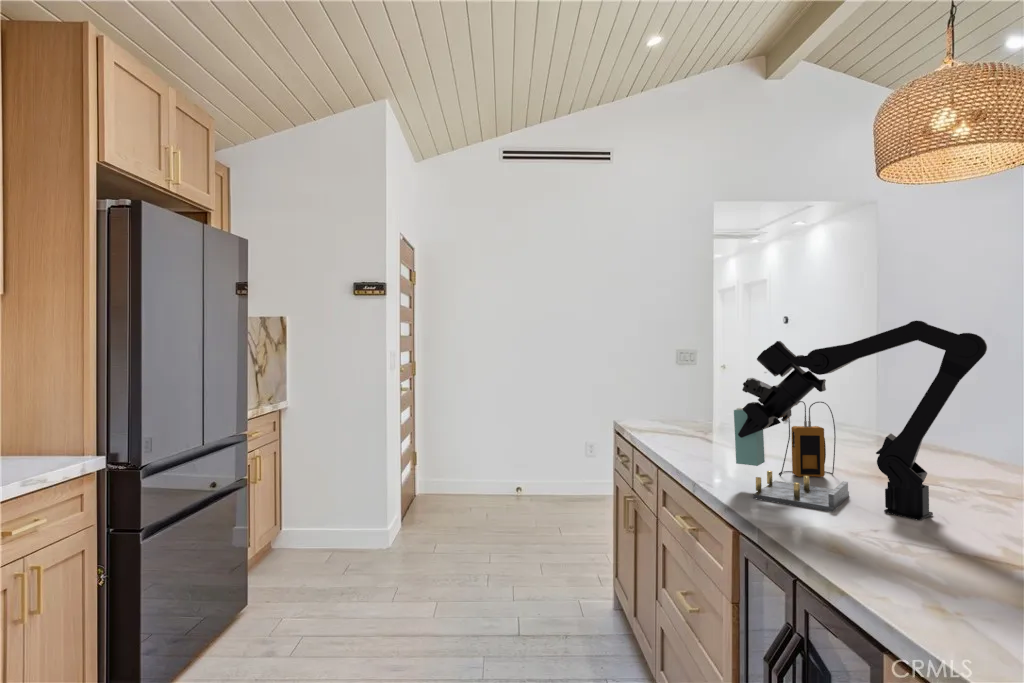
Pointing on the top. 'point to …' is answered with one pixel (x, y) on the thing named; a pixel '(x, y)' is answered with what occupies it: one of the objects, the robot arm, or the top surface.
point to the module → (747, 442)
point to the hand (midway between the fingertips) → (743, 434)
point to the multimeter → (808, 449)
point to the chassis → (802, 493)
